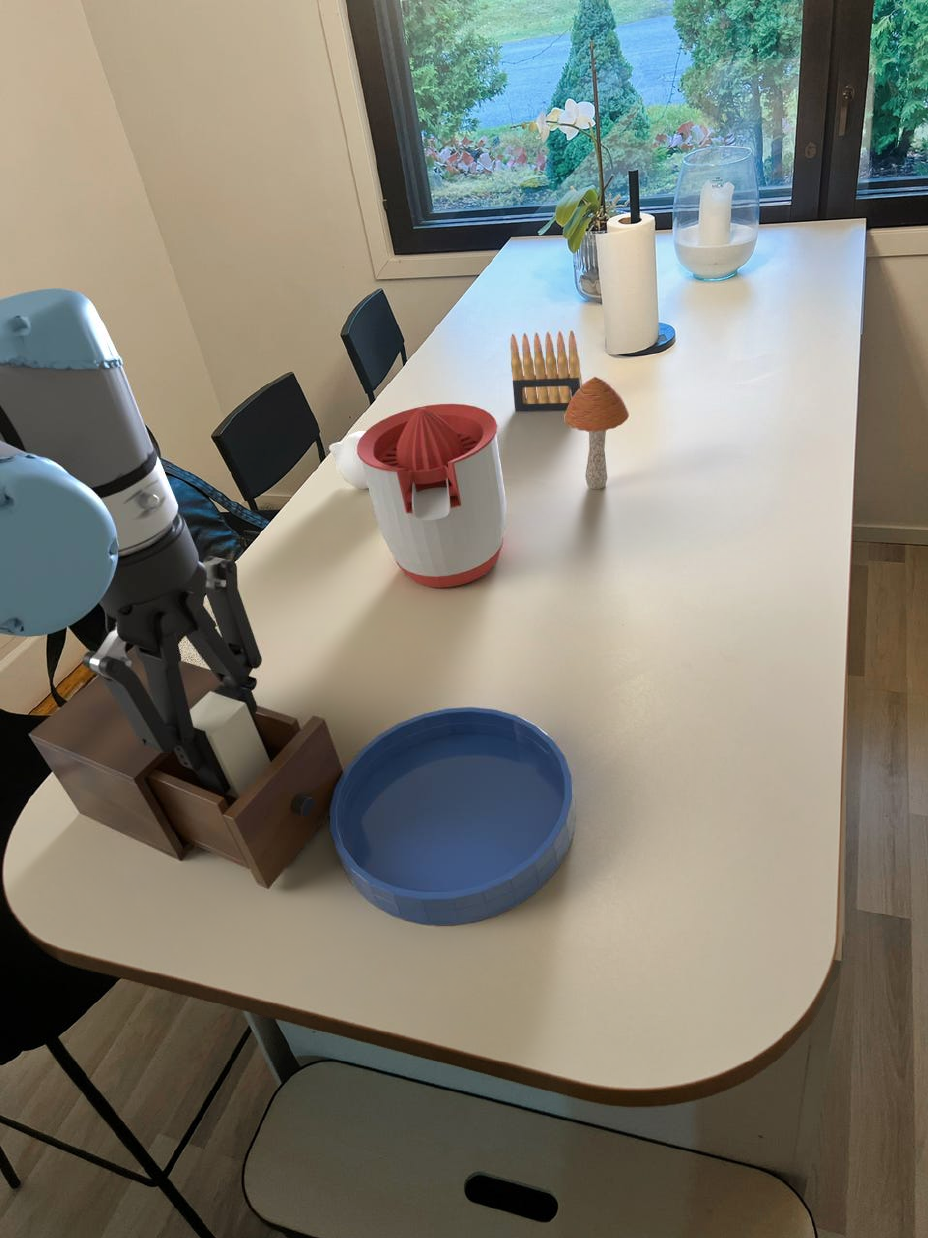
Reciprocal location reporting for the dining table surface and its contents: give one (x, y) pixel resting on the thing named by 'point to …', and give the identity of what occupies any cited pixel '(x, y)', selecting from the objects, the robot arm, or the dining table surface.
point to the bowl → (454, 815)
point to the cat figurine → (350, 460)
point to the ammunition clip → (550, 383)
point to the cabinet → (114, 758)
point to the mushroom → (596, 423)
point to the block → (231, 739)
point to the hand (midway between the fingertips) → (234, 765)
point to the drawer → (257, 798)
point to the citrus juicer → (437, 491)
